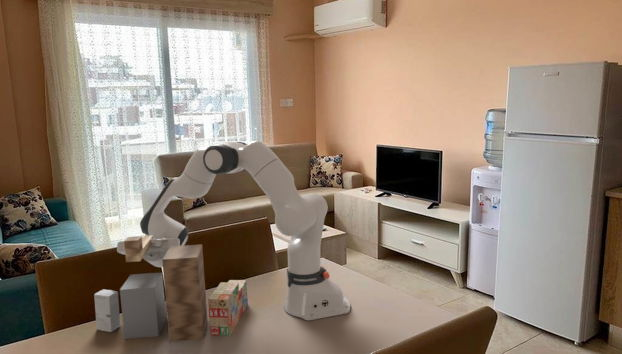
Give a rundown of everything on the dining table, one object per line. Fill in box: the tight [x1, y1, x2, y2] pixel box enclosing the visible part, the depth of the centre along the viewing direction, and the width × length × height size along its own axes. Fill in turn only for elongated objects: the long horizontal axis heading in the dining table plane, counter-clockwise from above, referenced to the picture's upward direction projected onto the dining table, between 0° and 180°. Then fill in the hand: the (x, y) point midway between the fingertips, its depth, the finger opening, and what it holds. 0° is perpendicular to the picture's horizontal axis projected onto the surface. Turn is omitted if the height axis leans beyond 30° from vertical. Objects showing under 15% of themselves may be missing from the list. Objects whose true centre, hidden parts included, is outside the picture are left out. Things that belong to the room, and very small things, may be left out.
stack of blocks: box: [207, 279, 249, 337], centre depth 146 cm, size 21×6×12 cm, turn 173°
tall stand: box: [162, 244, 208, 343], centre depth 138 cm, size 10×12×26 cm
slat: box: [123, 234, 153, 263], centre depth 140 cm, size 4×18×6 cm, turn 7°
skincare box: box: [93, 288, 121, 333], centre depth 142 cm, size 6×4×12 cm
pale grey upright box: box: [119, 271, 167, 340], centre depth 141 cm, size 10×12×16 cm
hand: (144, 241), depth 145 cm, fingers closed on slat, 4 cm apart
